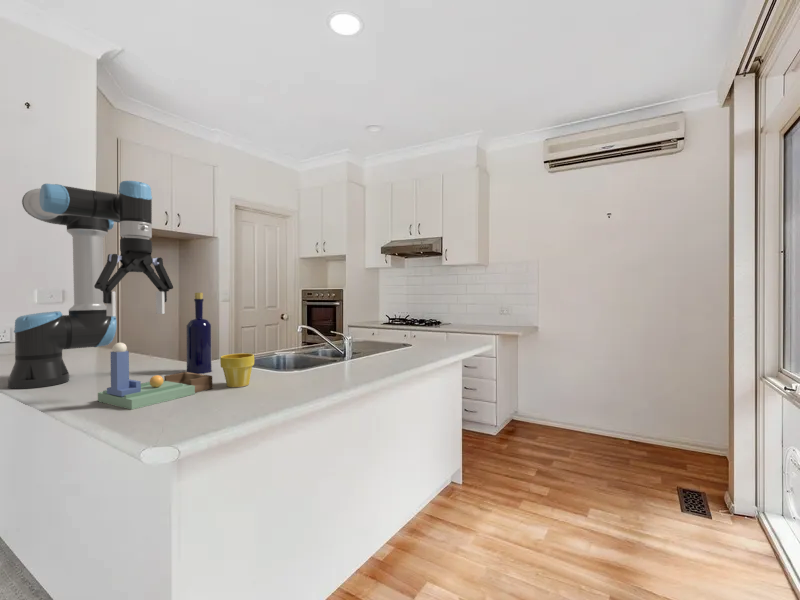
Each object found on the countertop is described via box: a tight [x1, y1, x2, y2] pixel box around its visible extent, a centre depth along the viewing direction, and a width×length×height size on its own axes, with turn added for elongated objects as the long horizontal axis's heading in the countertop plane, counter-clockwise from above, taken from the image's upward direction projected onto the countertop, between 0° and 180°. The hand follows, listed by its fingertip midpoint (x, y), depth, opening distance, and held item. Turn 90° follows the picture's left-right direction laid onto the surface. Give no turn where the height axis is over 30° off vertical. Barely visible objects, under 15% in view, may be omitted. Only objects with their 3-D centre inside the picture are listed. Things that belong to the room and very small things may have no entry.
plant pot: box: [219, 352, 255, 388], centre depth 133 cm, size 10×10×10 cm
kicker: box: [106, 342, 142, 397], centre depth 112 cm, size 7×5×14 cm
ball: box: [149, 375, 164, 387], centre depth 120 cm, size 4×4×4 cm
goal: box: [163, 371, 213, 393], centre depth 129 cm, size 13×7×4 cm, turn 63°
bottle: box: [186, 292, 213, 375], centre depth 155 cm, size 9×9×30 cm
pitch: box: [97, 381, 195, 410], centre depth 118 cm, size 16×18×3 cm
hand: (137, 315), depth 114 cm, fingers open, 13 cm apart
